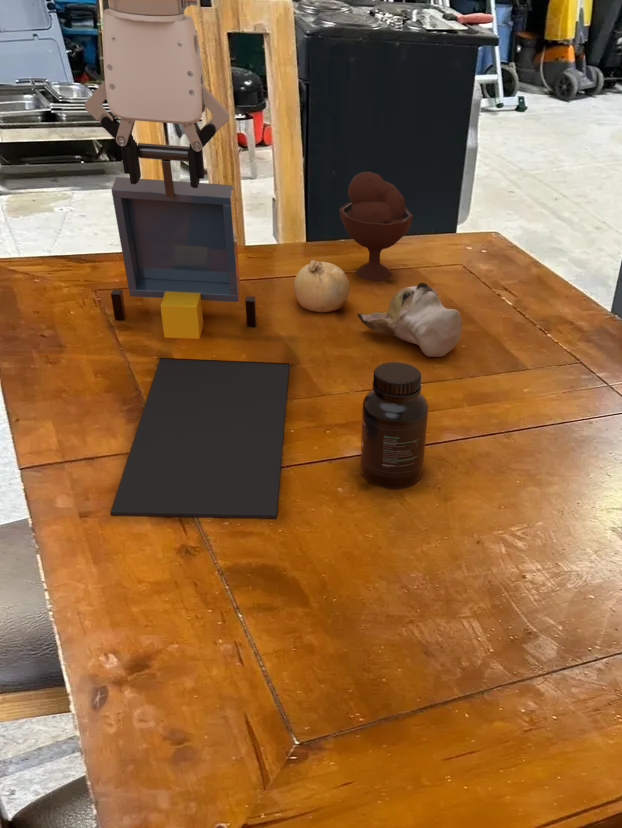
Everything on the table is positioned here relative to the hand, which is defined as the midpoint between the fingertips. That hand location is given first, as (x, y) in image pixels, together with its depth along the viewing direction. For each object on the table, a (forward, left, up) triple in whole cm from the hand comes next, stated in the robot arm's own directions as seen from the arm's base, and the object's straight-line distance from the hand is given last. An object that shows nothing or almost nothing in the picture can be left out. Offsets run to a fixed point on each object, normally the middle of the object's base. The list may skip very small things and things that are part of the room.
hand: (165, 181), depth 103 cm
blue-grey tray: (0, +7, -6) cm, 9 cm away
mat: (+6, -18, -20) cm, 28 cm away
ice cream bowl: (+26, +27, -20) cm, 42 cm away
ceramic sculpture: (+31, +3, -20) cm, 37 cm away
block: (0, 0, -17) cm, 17 cm away
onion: (+18, +13, -20) cm, 30 cm away
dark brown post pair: (0, +5, -20) cm, 20 cm away
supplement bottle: (+26, -30, -20) cm, 45 cm away
